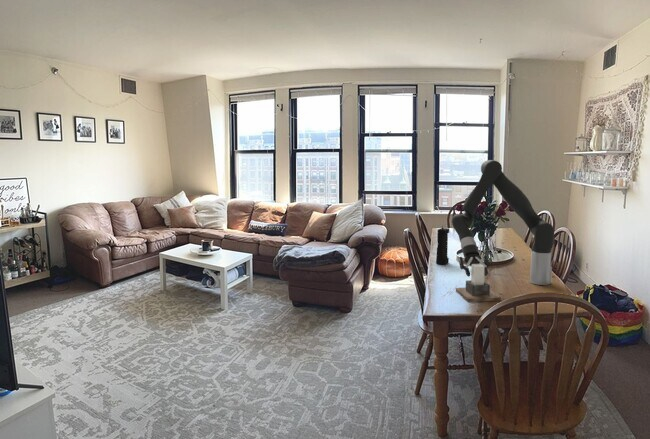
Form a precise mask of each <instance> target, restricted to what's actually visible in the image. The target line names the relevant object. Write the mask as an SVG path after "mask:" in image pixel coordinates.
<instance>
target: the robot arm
mask: <svg viewBox="0 0 650 439" xmlns="http://www.w3.org/2000/svg"><path fill="white" fill-rule="evenodd" d="M480 172H481V175H480V179H479V181H478V182H477V184H476V185H475V186H474V188H473V189H471V192H470V193H469V195H468V196H467V198H466V199H465V201H464V203H463V205H462V211H463V212H464V215H463V214H461V213H460V214H459V213H456V214H454V215H453V216H452V218H451V223H452V226H453V229H454V230H455V232H456V233H457V235H458V238H459V239H458V240H459V242H460V247H461V251H462V254H463V257H462V256H459V258H458V263H459V269H460V270H464V272H465V275H466V276H467V277H470V276H471V271H470V268H469V266H471V267H472V264H482V265H483V266H484V277H486V276H488V274H489V271H488V269H489V267H490V266H491V265H490V262H489V260H488V257H487V256H486V255H484V256H480V252H479V249H478V245H477V242H476V240H475V237H474V234H473V231H472V230H471V229H470V227H471V226H472V224H473V222H474V221H473V220H474V217H475V212H476V211H477V209H478V207H479V206H480V204H481V202H482V201H483V198H484V197H485V196H486V193H487V192H488V190H490V189H489V188H490V187H491V186H492V185H493V186H494V187H495V188H496V190H497V191H498V193H499V194H500V196H501V197H502V199H503V200H504V201H505V202H506V204H507V205H508V206H509V207H510V208H511V210H512V211H513V212H514V213H515V214H516V215H517V216H518V217H520V219H522V221H523V222H524V223H525V225H526V226H527V229H529V231H530V233H531V234H532V235H533V236H534V241H533V242H534V243H533V244H532V246H531V254H530V274H529V282H530V283H531V284H533V285H539V286H547V285H550V284H551V285H552V276H553V275H552V273H553V266H552V265H551V262H552V261H551V260H552V249H553V247H554V241H555V228H554V226H553V225H552V224H551V223H549V222H547V221H545V220H544V219H542V218H541V217H540V216H539V214H538V213H536V211H535V210H534V208H533V205H532V203H531V201H530V200H529V198H528V197H527V196H526V194H525V193H524V192H523V191H522V190H521V189H520V188H519V187H518V186H517V185H516V184H515V183H514V182H513V181H511V180H510V179H509V178H508V177H507V176H506V175H505V173H504V172H503V167H502V164H501V163H500V162H499V161H498V160H495V159H487V160H485V161H483V162H482V163H481V166H480ZM464 262H465V263H466V265H464V264H465V263H464Z"/></svg>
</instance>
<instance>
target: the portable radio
mask: <svg viewBox="0 0 650 439" xmlns="http://www.w3.org/2000/svg"><path fill="white" fill-rule="evenodd" d="M443 226H444V225H442V226H441V228H438V229H437V234H436V235H437V240H436V241H437V247H436V255H435V256H436V257H435V258H436V259H435V263H436V265H443V266H446V265H448V264H449V263H450V262H449V259H450V258H449V256H448V249H449V248H448V241H449V240H448V239H449V236H448V235H449V233H450V228H447V227H443Z"/></svg>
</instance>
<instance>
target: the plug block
mask: <svg viewBox="0 0 650 439" xmlns="http://www.w3.org/2000/svg"><path fill="white" fill-rule="evenodd" d="M470 276H471V277H470V280H471V283H472V284H473V285H484V281H485V275H484V266H483V265H482V264H480V263H479V264H472V266H471V271H470Z"/></svg>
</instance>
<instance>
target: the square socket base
mask: <svg viewBox="0 0 650 439" xmlns="http://www.w3.org/2000/svg"><path fill="white" fill-rule="evenodd" d="M490 287H491V285H490V284H489V283H487V282H486V281H485V280H484V285H473V284H472V283H471V279H469V280H465V287H455V291H456V293H457V294H459V295H460V296H461V298H463V299H464V300H465V301H466V302H467V303H472V302H473V303H475V302H494V301H495V302H497V301H499V302H501V299H502V297H501V296H499V295H498V294H497V293H496V292H494V291H493V290H492V289H491V288H490Z"/></svg>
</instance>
